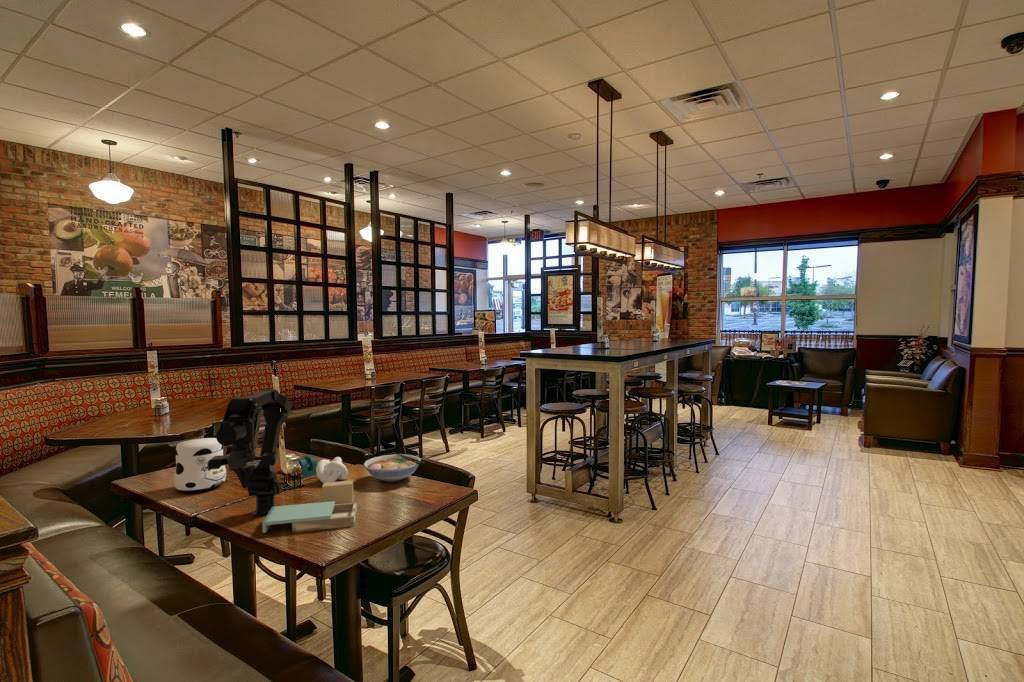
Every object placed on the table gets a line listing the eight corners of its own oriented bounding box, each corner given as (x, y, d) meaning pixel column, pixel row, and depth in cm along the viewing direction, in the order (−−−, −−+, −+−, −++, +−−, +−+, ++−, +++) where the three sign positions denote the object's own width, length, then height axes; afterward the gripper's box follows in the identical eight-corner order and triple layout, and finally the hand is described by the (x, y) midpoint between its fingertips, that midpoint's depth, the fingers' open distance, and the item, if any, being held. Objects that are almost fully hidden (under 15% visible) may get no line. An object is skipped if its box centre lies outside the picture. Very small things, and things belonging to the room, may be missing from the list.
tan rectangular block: (324, 502, 174) (323, 482, 173) (353, 499, 176) (353, 480, 176) (322, 506, 170) (322, 486, 170) (352, 503, 172) (352, 483, 172)
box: (300, 516, 161) (299, 507, 160) (356, 510, 165) (356, 502, 165) (292, 532, 148) (292, 522, 148) (354, 526, 152) (354, 516, 152)
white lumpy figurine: (316, 478, 201) (316, 456, 201) (347, 475, 205) (346, 453, 205) (316, 486, 190) (315, 464, 190) (348, 483, 195) (348, 460, 194)
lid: (272, 516, 159) (272, 506, 158) (335, 510, 163) (334, 501, 163) (262, 532, 146) (262, 522, 146) (330, 525, 151) (330, 515, 150)
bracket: (317, 474, 207) (316, 456, 207) (303, 478, 201) (302, 460, 201) (291, 468, 216) (290, 450, 216) (276, 472, 210) (276, 454, 210)
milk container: (224, 491, 186) (222, 444, 185) (169, 498, 178) (168, 449, 178) (228, 478, 201) (227, 435, 201) (178, 484, 194) (177, 440, 194)
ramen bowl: (354, 477, 201) (353, 458, 201) (404, 467, 216) (404, 449, 215) (378, 493, 182) (378, 472, 182) (432, 481, 196) (432, 461, 196)
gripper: (199, 446, 140) (201, 499, 140) (270, 442, 144) (271, 493, 145) (213, 437, 151) (214, 487, 151) (278, 434, 155) (279, 482, 156)
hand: (245, 487), depth 150 cm, fingers closed
